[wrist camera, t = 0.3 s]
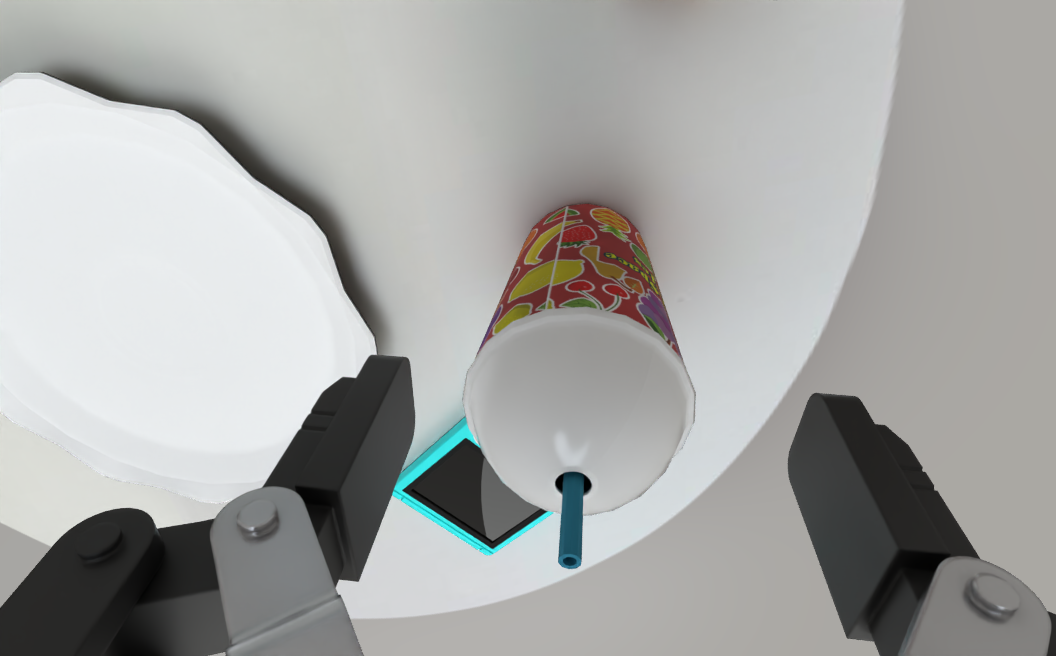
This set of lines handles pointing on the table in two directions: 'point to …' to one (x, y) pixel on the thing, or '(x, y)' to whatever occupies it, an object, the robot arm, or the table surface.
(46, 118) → the plate
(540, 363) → the smoothie
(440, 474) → the handheld game console
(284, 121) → the table surface
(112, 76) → the table surface
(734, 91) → the table surface
